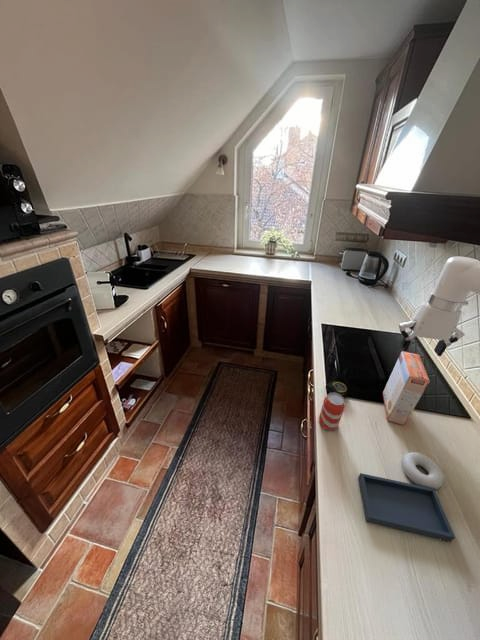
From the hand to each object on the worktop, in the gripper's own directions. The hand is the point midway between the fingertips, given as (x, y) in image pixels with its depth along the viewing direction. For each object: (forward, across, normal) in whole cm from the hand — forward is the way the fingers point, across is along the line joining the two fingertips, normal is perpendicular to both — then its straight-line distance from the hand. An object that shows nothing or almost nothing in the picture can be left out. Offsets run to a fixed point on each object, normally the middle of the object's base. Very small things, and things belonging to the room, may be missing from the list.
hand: (420, 351), depth 79 cm
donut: (+26, -1, +24) cm, 35 cm away
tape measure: (+26, +20, -2) cm, 33 cm away
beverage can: (+26, +24, +12) cm, 37 cm away
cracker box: (+26, 0, 0) cm, 26 cm away
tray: (+26, +8, +34) cm, 44 cm away
